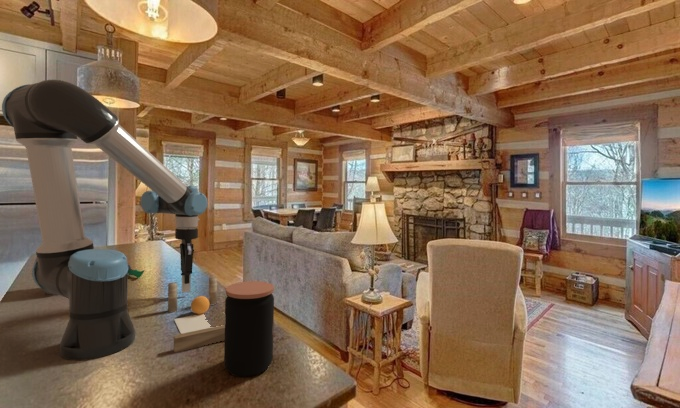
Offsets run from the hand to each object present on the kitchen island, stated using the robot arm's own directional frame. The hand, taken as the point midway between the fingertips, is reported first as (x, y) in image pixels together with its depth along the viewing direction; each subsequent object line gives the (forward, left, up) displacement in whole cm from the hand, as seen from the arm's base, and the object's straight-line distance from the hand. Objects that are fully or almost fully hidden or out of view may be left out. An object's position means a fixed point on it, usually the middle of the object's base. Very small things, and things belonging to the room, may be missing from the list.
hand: (186, 291), depth 119 cm
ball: (-20, -1, +1) cm, 20 cm away
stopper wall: (-42, 0, -2) cm, 42 cm away
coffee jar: (-58, -3, -2) cm, 58 cm away
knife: (+41, +15, -2) cm, 44 cm away
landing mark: (-28, 0, -2) cm, 28 cm away
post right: (-13, -6, -2) cm, 15 cm away
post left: (-13, +6, -2) cm, 15 cm away
